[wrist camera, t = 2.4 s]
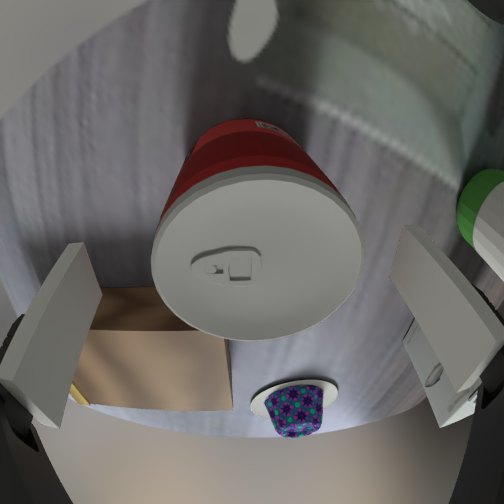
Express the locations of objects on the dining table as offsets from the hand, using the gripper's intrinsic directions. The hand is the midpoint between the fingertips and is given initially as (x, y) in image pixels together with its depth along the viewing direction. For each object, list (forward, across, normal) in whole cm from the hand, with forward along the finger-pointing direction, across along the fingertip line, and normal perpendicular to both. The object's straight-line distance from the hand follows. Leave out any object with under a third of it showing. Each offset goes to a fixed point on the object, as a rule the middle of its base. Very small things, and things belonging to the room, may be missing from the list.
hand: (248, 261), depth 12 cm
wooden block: (+10, -10, -16) cm, 21 cm away
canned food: (+10, 0, 0) cm, 10 cm away
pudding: (+10, +7, -31) cm, 33 cm away
